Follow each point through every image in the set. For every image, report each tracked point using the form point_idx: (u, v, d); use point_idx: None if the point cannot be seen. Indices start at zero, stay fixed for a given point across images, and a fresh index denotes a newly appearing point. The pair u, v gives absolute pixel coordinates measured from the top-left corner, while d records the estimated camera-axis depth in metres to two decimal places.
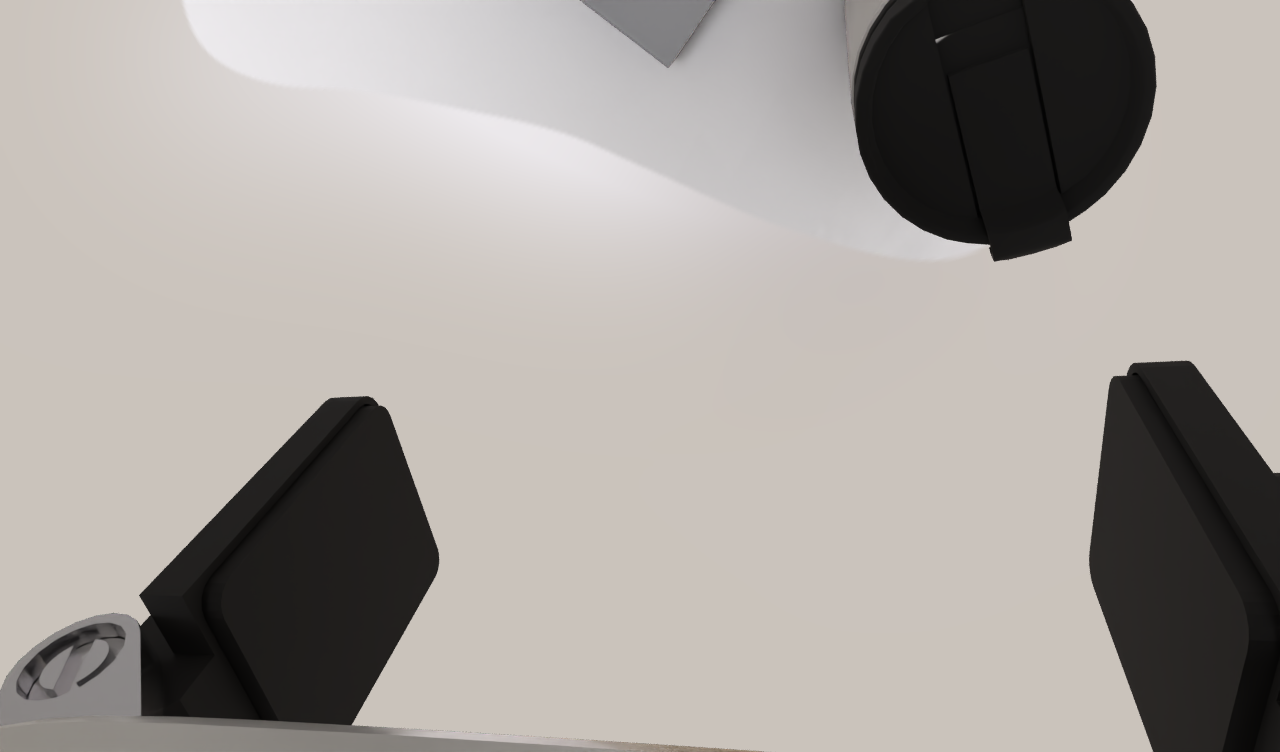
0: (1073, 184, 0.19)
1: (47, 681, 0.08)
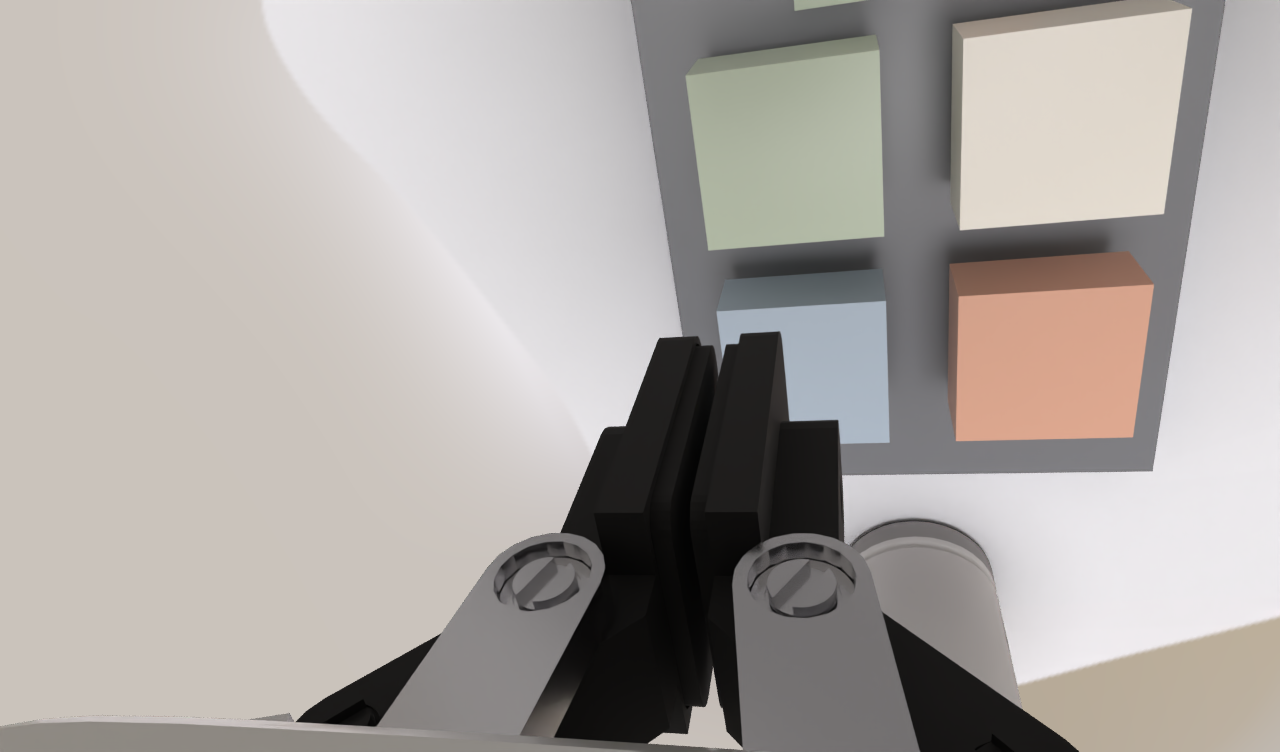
0: None
1: (517, 583, 0.08)
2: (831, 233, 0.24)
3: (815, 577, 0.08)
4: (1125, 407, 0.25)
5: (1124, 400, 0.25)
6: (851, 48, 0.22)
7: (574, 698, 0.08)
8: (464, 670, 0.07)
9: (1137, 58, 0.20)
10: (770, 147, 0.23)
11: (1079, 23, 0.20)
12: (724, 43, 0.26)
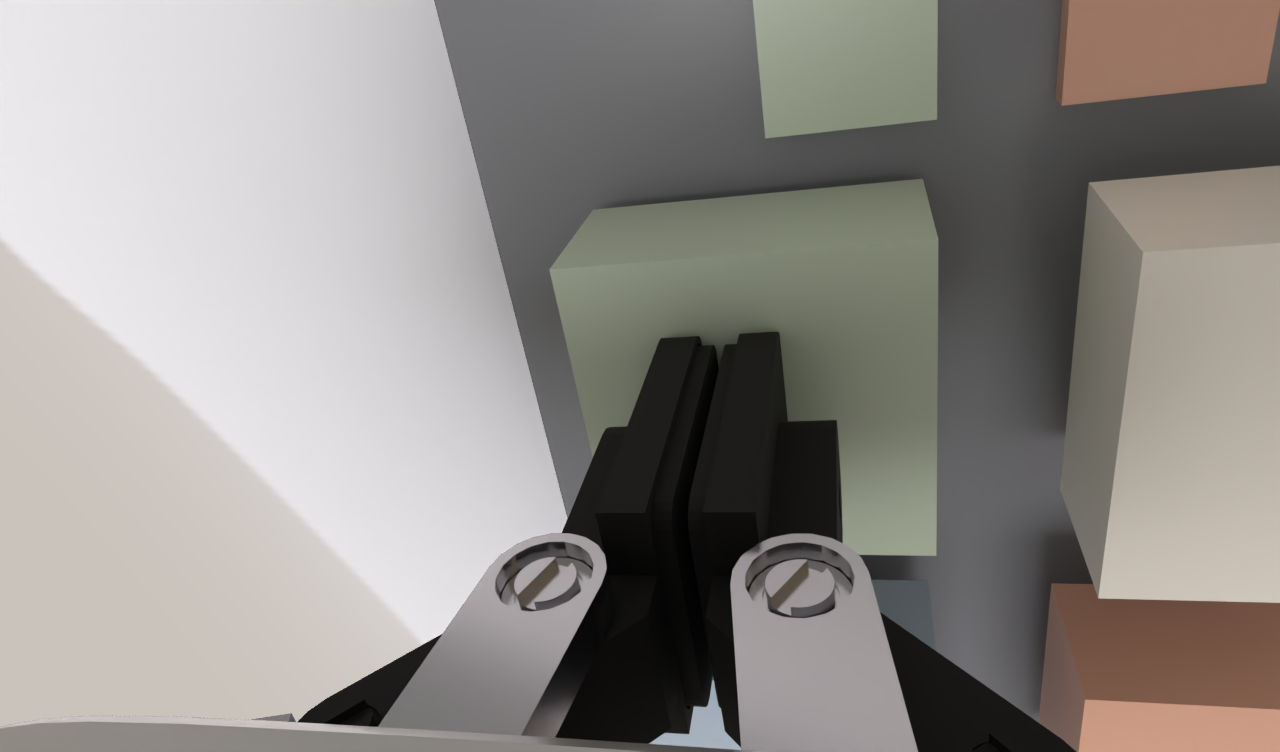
0: None
1: (519, 583, 0.08)
2: None
3: (813, 577, 0.08)
4: None
5: None
6: (877, 223, 0.11)
7: (576, 698, 0.08)
8: (465, 670, 0.07)
9: None
10: None
11: None
12: (637, 187, 0.14)
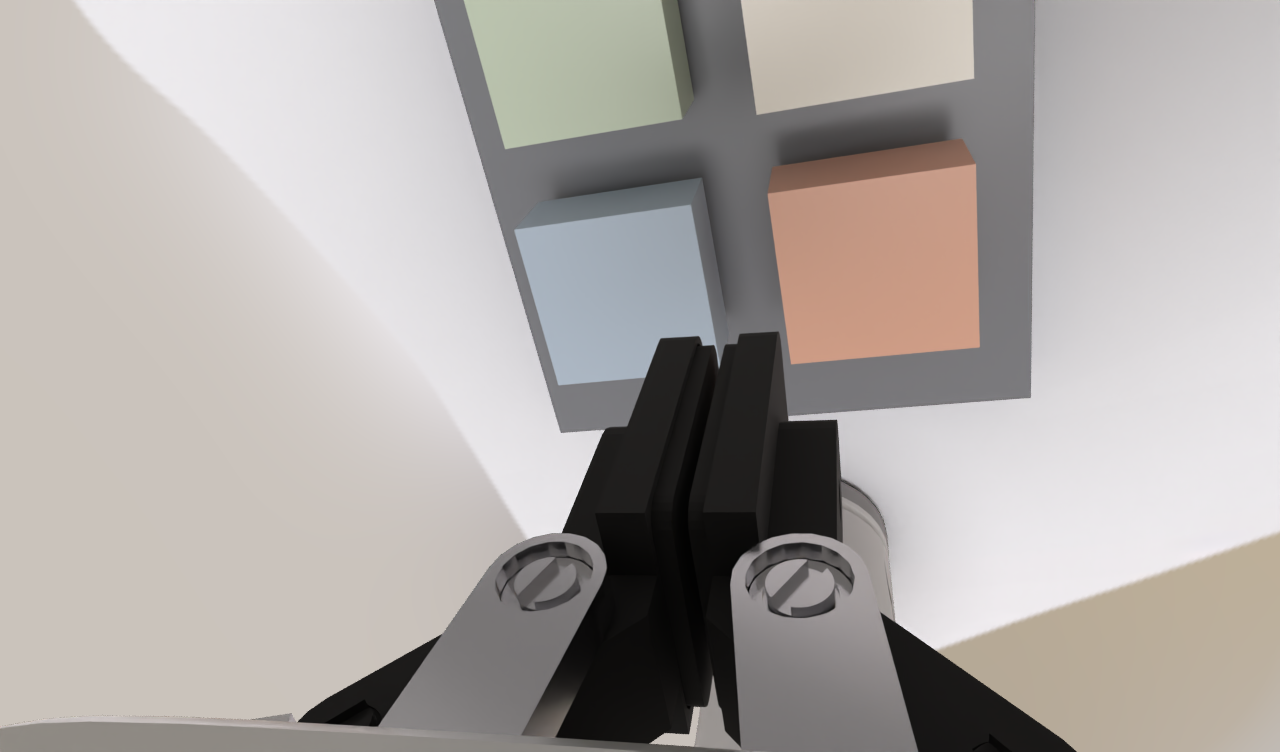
0: None
1: (519, 583, 0.08)
2: (627, 119, 0.22)
3: (813, 577, 0.08)
4: (966, 312, 0.22)
5: (964, 304, 0.22)
6: None
7: (576, 698, 0.08)
8: (465, 671, 0.07)
9: None
10: (549, 25, 0.22)
11: None
12: None
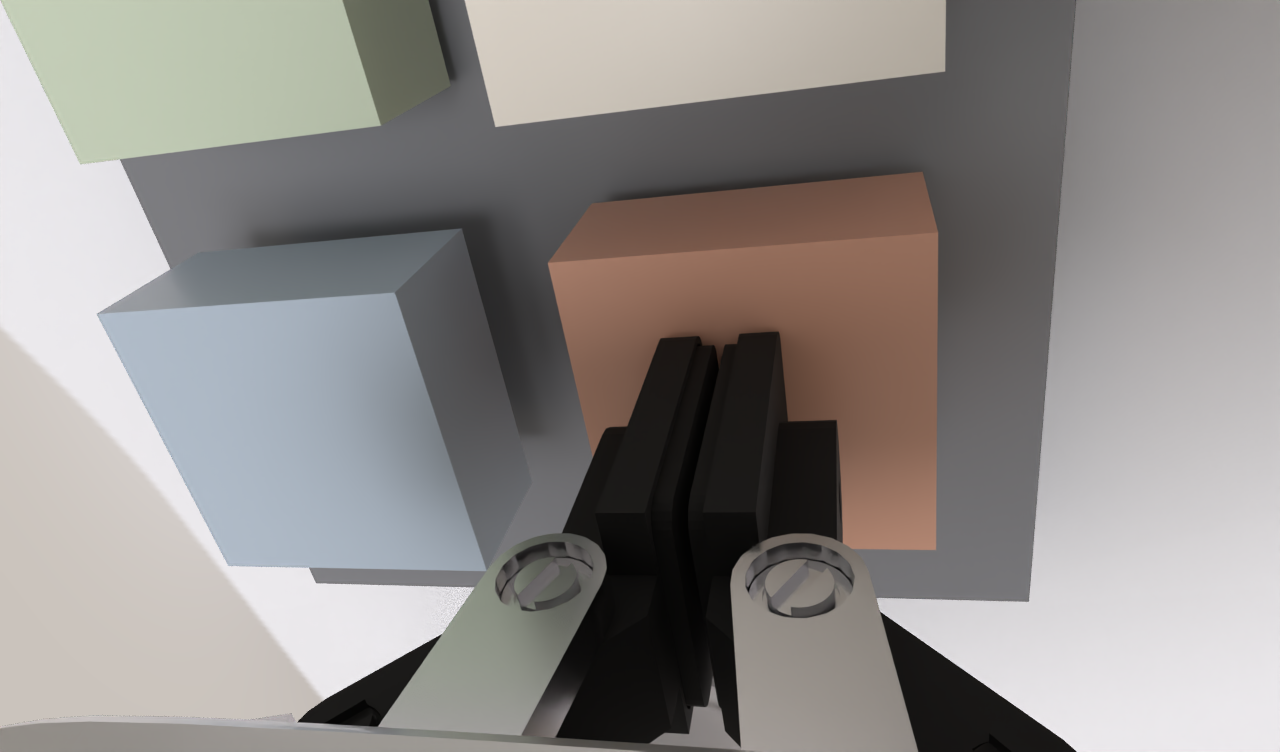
0: None
1: (519, 583, 0.08)
2: (282, 121, 0.12)
3: (813, 577, 0.08)
4: (913, 492, 0.12)
5: (909, 479, 0.12)
6: None
7: (576, 698, 0.08)
8: (466, 670, 0.07)
9: None
10: None
11: None
12: None
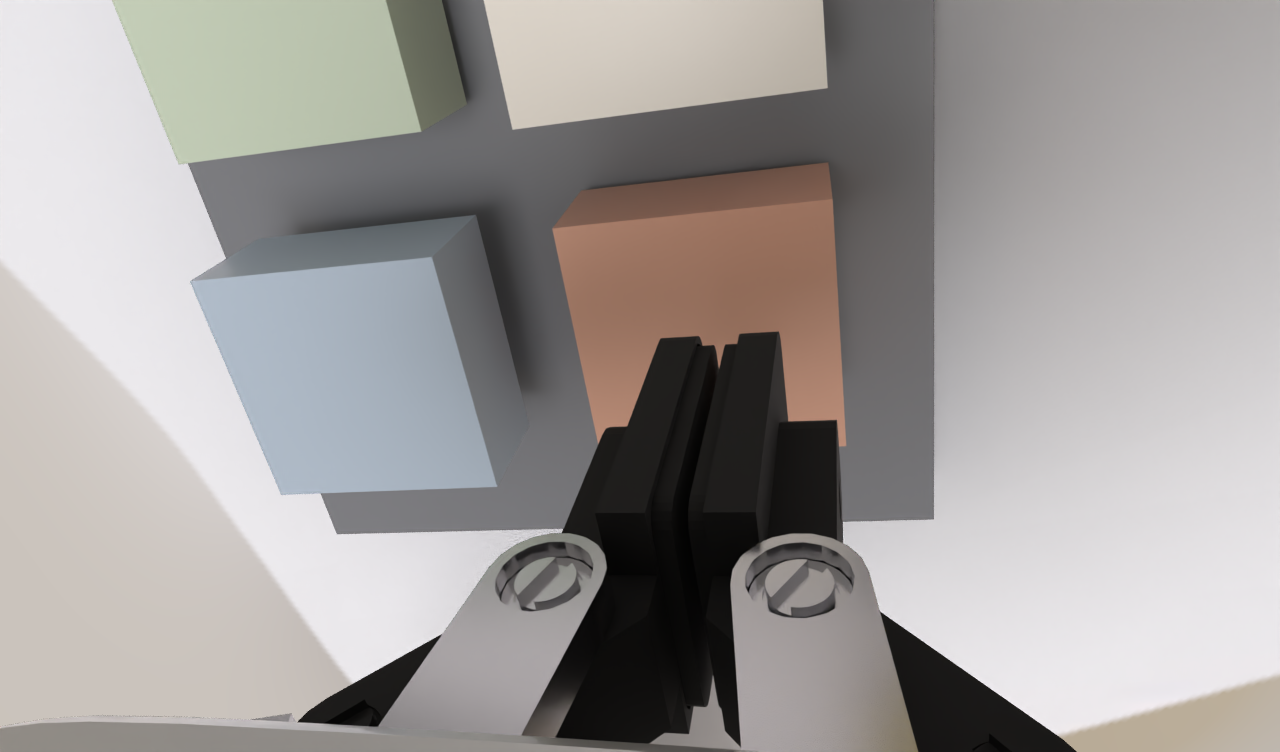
0: None
1: (519, 583, 0.08)
2: (344, 129, 0.15)
3: (813, 577, 0.08)
4: (827, 400, 0.16)
5: (823, 389, 0.16)
6: None
7: (576, 698, 0.08)
8: (465, 670, 0.07)
9: None
10: None
11: None
12: None
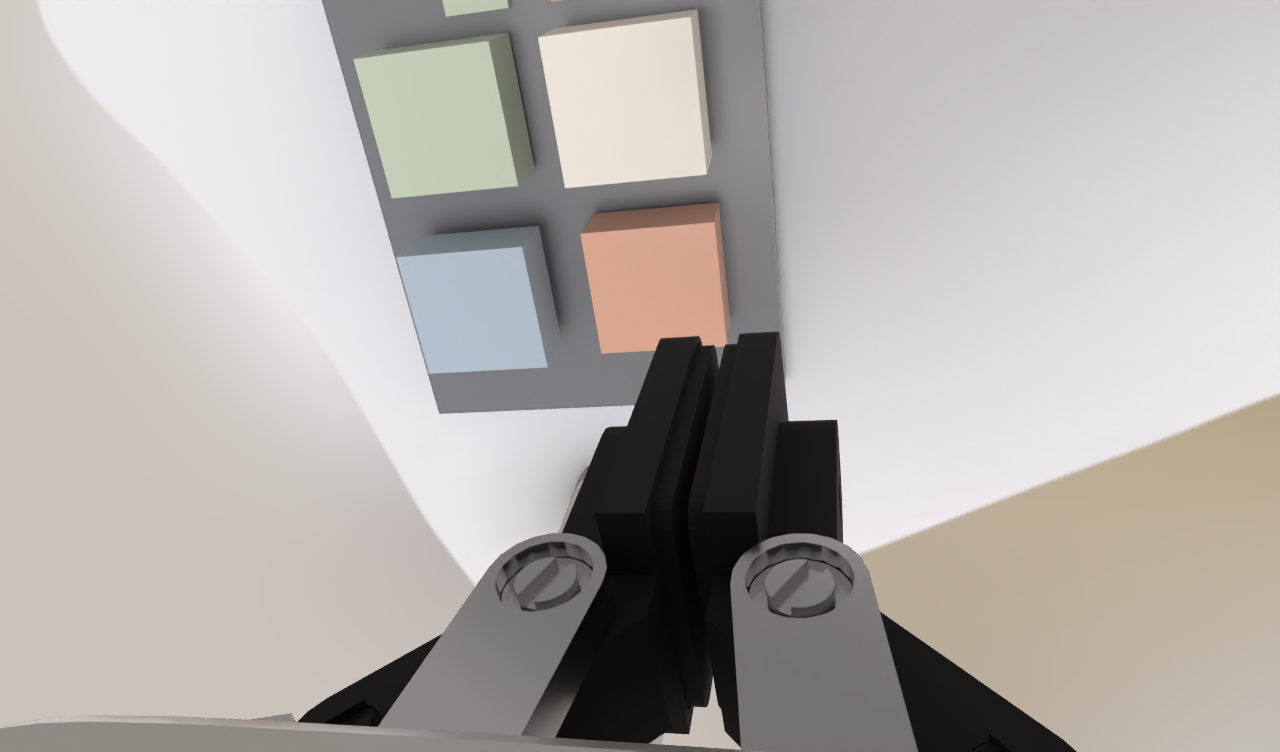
0: None
1: (519, 583, 0.08)
2: (479, 183, 0.31)
3: (813, 577, 0.08)
4: (716, 321, 0.33)
5: (714, 316, 0.32)
6: (476, 40, 0.30)
7: (576, 698, 0.08)
8: (465, 670, 0.07)
9: (662, 53, 0.27)
10: (424, 115, 0.30)
11: (617, 26, 0.27)
12: (400, 42, 0.32)
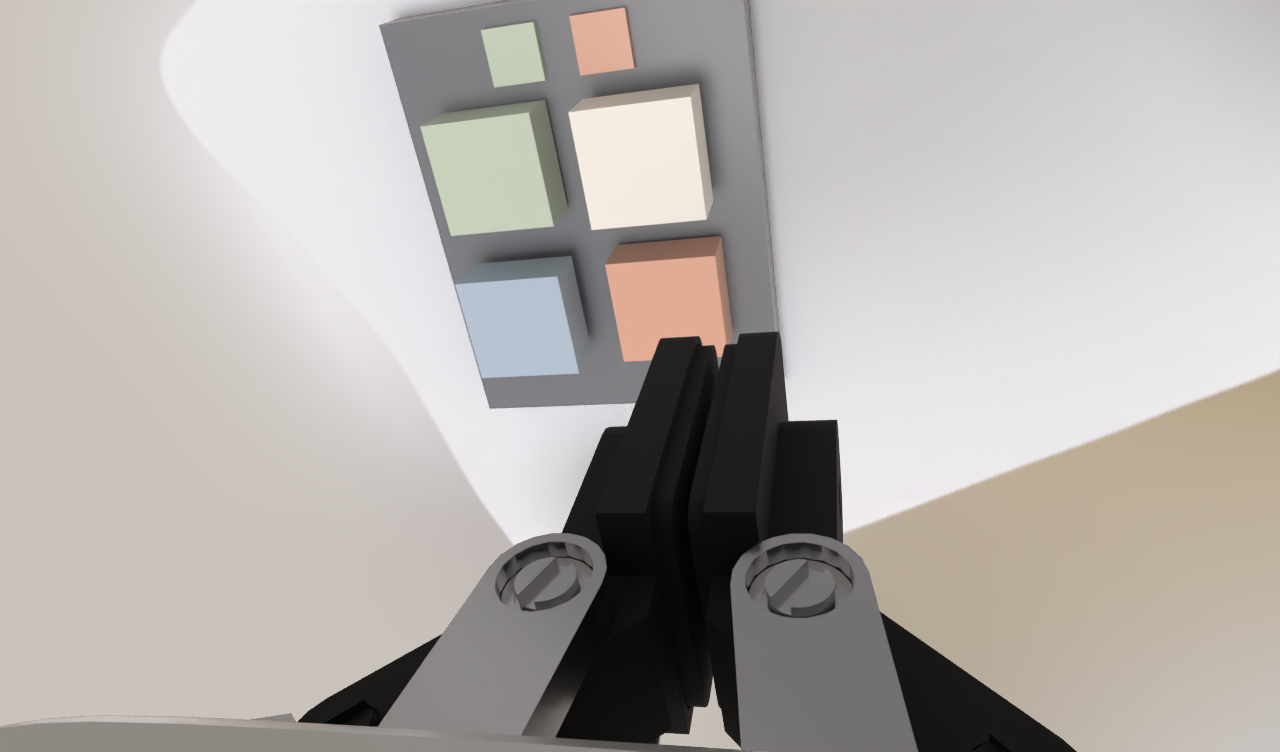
0: None
1: (519, 583, 0.08)
2: (522, 224, 0.38)
3: (813, 577, 0.08)
4: (718, 336, 0.39)
5: (716, 331, 0.39)
6: (518, 110, 0.36)
7: (576, 698, 0.08)
8: (466, 671, 0.07)
9: (668, 125, 0.34)
10: (477, 170, 0.37)
11: (631, 104, 0.34)
12: (457, 106, 0.39)
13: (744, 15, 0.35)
